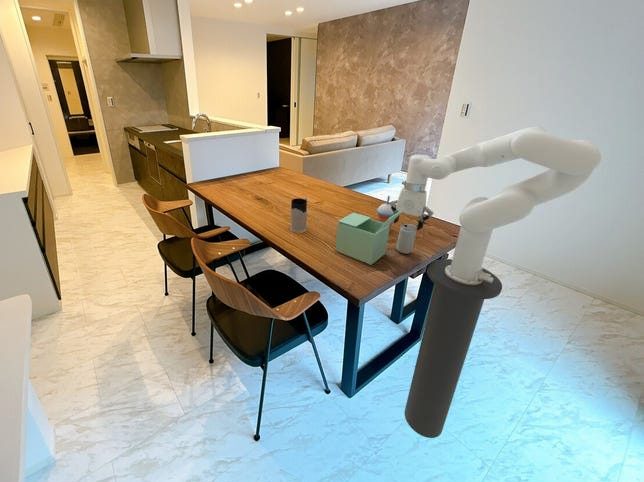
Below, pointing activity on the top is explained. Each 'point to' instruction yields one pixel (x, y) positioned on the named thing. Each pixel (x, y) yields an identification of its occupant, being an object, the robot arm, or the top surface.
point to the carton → (361, 238)
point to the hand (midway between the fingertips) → (407, 225)
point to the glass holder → (298, 215)
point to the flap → (389, 221)
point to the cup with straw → (384, 212)
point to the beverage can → (406, 238)
